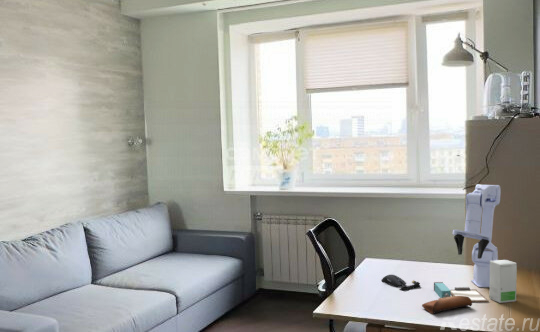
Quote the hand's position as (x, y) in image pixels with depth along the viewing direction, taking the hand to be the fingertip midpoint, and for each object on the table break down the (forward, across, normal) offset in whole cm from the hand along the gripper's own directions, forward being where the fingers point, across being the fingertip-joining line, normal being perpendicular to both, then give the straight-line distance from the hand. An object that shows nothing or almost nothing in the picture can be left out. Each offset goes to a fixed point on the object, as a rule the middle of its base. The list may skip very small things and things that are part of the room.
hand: (469, 256), depth 202 cm
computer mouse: (+13, -16, +34) cm, 40 cm away
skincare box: (+13, +19, +11) cm, 25 cm away
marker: (+15, -3, +18) cm, 24 cm away
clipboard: (+14, +6, +15) cm, 22 cm away
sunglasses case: (+21, -6, +4) cm, 22 cm away
